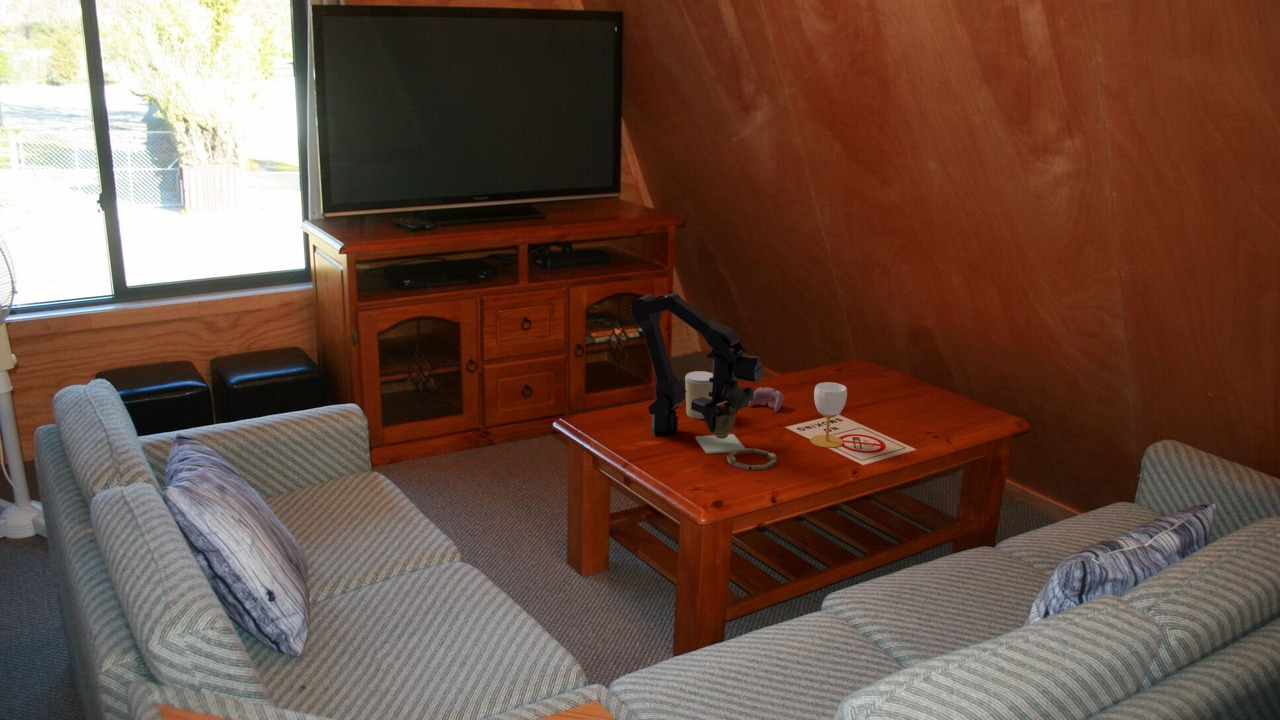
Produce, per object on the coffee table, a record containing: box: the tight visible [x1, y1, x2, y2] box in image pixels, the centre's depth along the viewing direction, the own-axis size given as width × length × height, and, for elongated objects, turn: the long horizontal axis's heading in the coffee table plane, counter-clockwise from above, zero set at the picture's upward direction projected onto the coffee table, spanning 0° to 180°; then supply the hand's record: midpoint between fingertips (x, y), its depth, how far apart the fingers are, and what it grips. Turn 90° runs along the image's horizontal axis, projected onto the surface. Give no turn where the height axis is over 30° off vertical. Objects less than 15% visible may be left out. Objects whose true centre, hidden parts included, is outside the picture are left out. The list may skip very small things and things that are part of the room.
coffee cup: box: [684, 370, 713, 420], centre depth 307 cm, size 9×9×12 cm
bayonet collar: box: [726, 447, 778, 471], centre depth 276 cm, size 13×12×1 cm
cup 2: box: [810, 381, 848, 449], centre depth 288 cm, size 9×9×16 cm
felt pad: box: [695, 433, 746, 454], centre depth 287 cm, size 11×11×1 cm
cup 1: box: [714, 404, 737, 439], centre depth 285 cm, size 8×7×8 cm
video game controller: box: [748, 387, 785, 413], centre depth 316 cm, size 10×5×7 cm, turn 58°
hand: (720, 429), depth 285 cm, fingers closed on cup 1, 6 cm apart
